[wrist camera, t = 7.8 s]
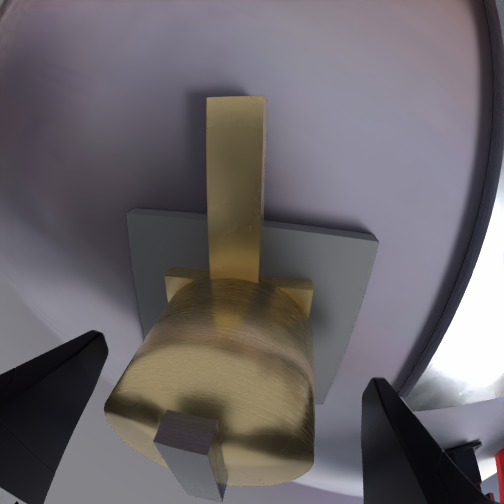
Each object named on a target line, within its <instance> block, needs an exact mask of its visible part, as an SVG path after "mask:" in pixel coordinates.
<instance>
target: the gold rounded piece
mask: <svg viewBox="0 0 504 504" xmlns="http://www.w3.org/2000/svg"><path fill="white" fill-rule="evenodd" d="M266 126H267V99H266V98H265V97H264V96H229V97H207V114H206V168H207V215H208V242H209V264H210V271H204V270H194V269H184V268H175V267H171V268H170V269H169V270H168V272H167V273H166V274H165V275H164V279H165V286H166V292H167V299H168V305H167V306H166V308H165V309H164V311H163V312H162V314H161V315H160V317H159V318H158V320H157V321H156V323H155V324H154V326H153V327H152V329H151V330H150V332H149V333H148V335H147V337H146V338H145V340H144V341H143V343H142V344H141V346H140V347H139V349H138V351H137V352H136V354H135V355H134V357H133V359H132V360H131V362H130V363H129V365H128V366H127V368H126V370H125V371H124V373H123V375H122V376H121V378H120V379H119V381H118V383H117V384H116V386H115V388H114V389H113V391H112V393H111V394H110V396H109V398H108V399H107V401H106V403H105V406H104V411H105V416H106V418H107V421H108V422H109V424H110V425H111V427H112V428H113V430H114V431H115V432H116V433H117V434H118V435H119V436H120V438H121V439H122V440H124V441H125V442H126V443H127V444H128V445H130V446H131V447H132V448H133V449H135V450H136V451H137V452H139V453H140V454H142V455H143V456H145V457H147V458H148V459H150V460H152V461H154V462H156V463H157V464H159V465H161V466H163V467H166V468H168V469H170V470H171V471H172V473H173V474H174V475H175V477H176V478H177V480H178V481H179V483H180V484H181V485H182V487H183V488H184V490H185V491H186V492H187V494H188V495H191V496H195V497H200V498H204V499H209V500H214V501H218V502H223V498H224V494H225V490H226V485H232V486H268V485H275V484H280V483H285V482H288V481H291V480H294V479H296V478H298V477H300V476H302V475H304V474H305V473H306V472H308V471H309V470H310V468H311V467H312V465H313V463H314V435H315V387H314V348H313V332H312V328H311V324H310V322H309V314H310V308H311V302H312V296H313V280H306V279H293V278H281V277H269V276H261V268H262V243H263V217H264V190H265V159H266Z"/></svg>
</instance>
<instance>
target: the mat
mask: <svg viewBox="0 0 504 504" xmlns="http://www.w3.org/2000/svg"><path fill="white" fill-rule="evenodd" d="M126 220H127V231H128V240H129V249H130V257H131V265H132V272H133V279H134V285H135V291H136V297H137V303H138V308H139V314H140V319H141V324H142V328H143V333H144V338H146V337H147V335H148V333H149V332H150V330H151V329H152V327H153V326H154V324H155V323H156V321H157V320H158V318H159V317H160V315H161V314H162V312H163V311H164V309H165V308H166V306H167V305H168V299H167V292H166V286H165V279H164V275H165V274H166V273H167V272H168V270H169V269H170V268H171V267H175V268H184V269H194V270H204V271H210V264H209V242H208V215H207V214H201V213H190V212H179V211H167V210H155V209H142V208H134V209H132V210H130V211H129V212H127V213H126ZM378 244H379V241H378V240H377V238H376V237H375V235H373V234H366V233H360V232H353V231H346V230H338V229H331V228H324V227H316V226H308V225H301V224H293V223H284V222H276V221H267V220H263V243H262V268H261V276H269V277H281V278H293V279H306V280H313V296H312V302H311V308H310V314H309V322H310V324H311V328H312V332H313V348H314V387H315V404H323V402H324V400H325V398H326V396H327V393H328V391H329V389H330V387H331V384H332V382H333V380H334V377H335V375H336V372H337V370H338V367H339V365H340V362H341V360H342V357H343V355H344V352H345V350H346V347H347V344H348V342H349V339H350V336H351V333H352V331H353V328H354V325H355V322H356V319H357V316H358V313H359V310H360V307H361V304H362V301H363V298H364V294H365V291H366V288H367V284H368V281H369V278H370V274H371V271H372V267H373V263H374V260H375V256H376V252H377V248H378Z"/></svg>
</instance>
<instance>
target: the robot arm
mask: <svg viewBox="0 0 504 504" xmlns="http://www.w3.org/2000/svg"><path fill="white" fill-rule="evenodd" d="M107 356H108V346H107V343H106V340H105V337H104V335H103V333H101V332H99V331H96V330H91V331H89V332H87V333H85V334H83V335H81V336H79V337H77V338H75V339H72V340H70V341H68V342H66V343H64V344H62V345H60V346H58V347H56V348H54V349H52V350H50V351H48V352H46V353H44V354H42V355H40V356H38V357H36V358H34V359H32V360H30V361H28V362H25V363H24V364H21V365H20V366H17V367H16V368H13V369H11V370H9V371H7V372H5V373H3V374H1V375H0V504H18V502H17V501H16V500H17V498H18V499H20V500H22V501H23V502H25V503H27V504H44V501H45V498H46V496H47V492H48V490H49V488H50V485H51V482H52V480H53V478H54V475H55V472H56V470H57V467H58V465H59V463H60V460H61V458H62V456H63V454H64V451H65V449H66V446H67V445H68V442H69V440H70V438H71V436H72V434H73V431H74V429H75V427H76V425H77V423H78V421H79V419H80V417H81V415H82V413H83V411H84V409H85V407H86V405H87V403H88V401H89V398H90V397H91V395H92V393H93V391H94V388H95V386H96V384H97V381H98V379H99V376H100V374H101V371H102V369H103V366H104V364H105V361H106V359H107ZM481 446H482V443H481V441H480V442H477V443H473V444H470V445H467V446H463V447H459V448H456V449H452V450H448V451H442V450H443V449H442V448H441V447H440V445H439V444H438V443H437V442H436V440H435V439H434V438H433V437H432V435H431V434H430V433H429V432H428V430H427V429H426V428H425V427H424V425H423V424H422V423H421V422H420V421H419V419H418V418H417V417H416V416H415V414H414V413H413V412H412V411H411V409H410V408H409V407H408V406H407V405H406V403H405V402H404V401H403V400H402V398H401V397H400V396H399V395H398V394H397V392H396V391H395V390H394V389H393V388H392V386H391V385H390V384H389V383H388V382H387V380H386V379H385V378H378V377H374V378H372V379H371V380H370V382H369V384H368V385H367V387H366V389H365V391H364V393H363V396H362V424H361V447H362V464H363V492H364V504H504V503H498V502H495V501H494V496H493V494H492V493H488V494H486V495H484V494H483V493H482V492H481V487H480V484H481V482H482V480H481V476H480V472H479V468H478V464H477V460H476V456H475V453H474V452H475V451H476V450H477V449H478V448H480V447H481Z"/></svg>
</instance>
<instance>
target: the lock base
mask: <svg viewBox="0 0 504 504" xmlns="http://www.w3.org/2000/svg"><path fill="white" fill-rule="evenodd" d="M484 5H485V9H486V15H487V20H488V26H489V33H490V40H491V49H492V61H493V83H494V102H493V124H492V136H491V146H490V154H489V161H488V168H487V174H486V180H485V185H484V190H483V195H482V199H481V204H480V208H479V212H478V216H477V220H476V224H475V227H474V231H473V234H472V238H471V241H470V244H469V247H468V250H467V254H466V257H465V259H464V262H463V265H462V268H461V271H460V273H459V276H458V279H457V281H456V284H455V286H454V289H453V291H452V294H451V296H450V298H449V301H448V303H447V305H446V307H445V310H444V312H443V314H442V316H441V318H440V320H439V323H438V325H437V327H436V329H435V331H434V333H433V335H432V337H431V339H430V340H429V342H428V344H427V346H426V348H425V350H424V352H423V353H422V355H421V357H420V359H419V360H418V362H417V364H416V366H415V367H414V369H413V371H412V372H411V374H410V376H409V377H408V379H407V380H406V382H405V384H404V385H403V387H402V388H401V390H400V391H399V393H398V395H399V396H400V397H401V398H402V400H403V401H404V402H405V403H406V405H407V406H408V407H409V408H410V409H411V411H412V412H413V411H423V410H432V409H439V408H446V407H453V406H459V405H465V404H470V403H475V402H480V401H484V400H489V399H493V398H497V397H501V396H504V0H484Z"/></svg>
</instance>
